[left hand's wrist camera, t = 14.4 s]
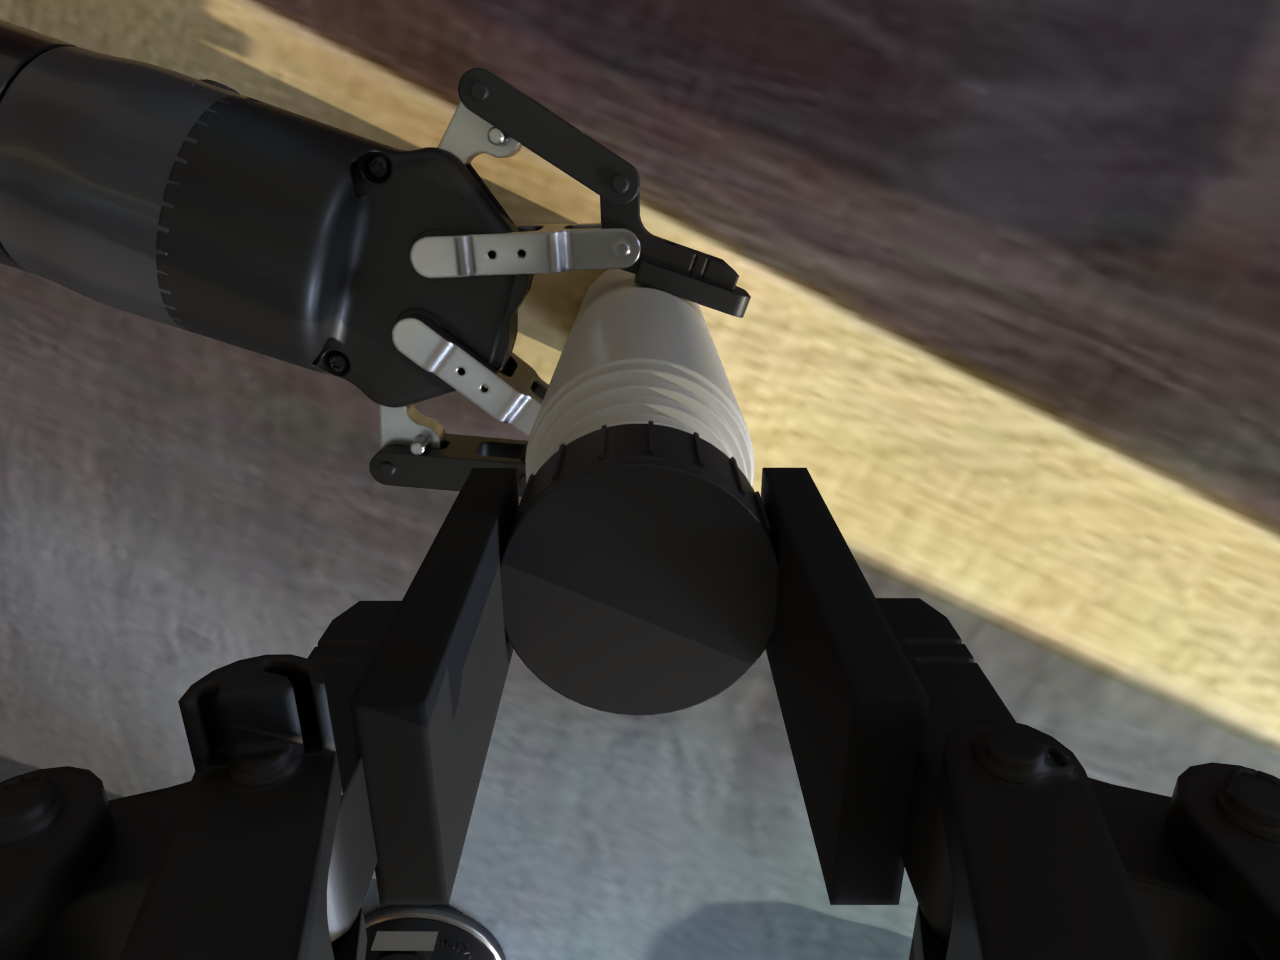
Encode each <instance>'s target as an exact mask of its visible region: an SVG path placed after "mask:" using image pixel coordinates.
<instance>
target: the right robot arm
mask: <svg viewBox="0 0 1280 960" xmlns="http://www.w3.org/2000/svg"><path fill="white" fill-rule="evenodd" d="M458 92H459V97H460V100H461V101H460V103H459V105H458V107H457V109H456V111H455V113H454V115H453V117H452V119H451V121H450V124H449V126H448V128H447V130H446V132H445V134H444V136H443V138H442V140H441V142H440V144H439V146H438V148H433V147H429V148H423V149H418V150H413V151H403V150H399V149H396V148H392V147H389V146H386V145H383V144H381V143H378V142H375V141H372V140H369V139H366V138H363V137H361V136H358V135H355V134H352V133H349V132H346V131H343V130H341V129H338V128H335V127H332V126H329V125H326V124H323V123H321V122H318V121H315V120H312V119H309V118H306V117H303V116H301V115H298V114H295V113H292V112H289V111H286V110H283V109H281V108H278V107H275V106H272V105H269V104H266V103H263V102H261V101H258V100H255V99H252V98H249V97H246V96H243V95H240V94H239V93H238V92H237V91H235V90H233V89H231V88H229V87H227V86H225V85H223V84H220V83H217V82H215V81H211V80H207V79H206V80H198V79H195V78H192V77H189V76H186V75H183V74H180V73H178V72H175V71H172V70H169V69H165V68H162V67H159V66H156V65H152V64H148V63H144V62H140V61H135V60H130V59H125V58H120V57H114V56H110V55H105V54H101V53H97V52H93V51H90V50H87V49H83V48H80V47H76V46H74V45H72V44H69V43H66V42H63V41H60V40H57V39H54V38H51V37H49V36H46V35H43V34H40V33H37V32H34V31H31V30H29V29H26V28H23V27H20V26H17V25H14V24H11V23H9V22H6V21H3V20H0V263H2V264H5V265H8V266H11V267H14V268H18V269H21V270H24V271H27V272H30V273H33V274H36V275H38V276H41V277H44V278H47V279H49V280H52V281H54V282H56V283H59V284H61V285H63V286H65V287H67V288H69V289H71V290H73V291H76V292H78V293H80V294H82V295H84V296H87V297H89V298H91V299H94V300H96V301H98V302H101V303H103V304H106V305H109V306H112V307H115V308H117V309H120V310H123V311H127V312H130V313H133V314H136V315H139V316H143V317H146V318H149V319H152V320H155V321H158V322H162V323H165V324H168V325H171V326H174V327H177V328H181V329H184V330H187V331H190V332H193V333H196V334H200V335H203V336H206V337H210V338H213V339H216V340H219V341H222V342H225V343H228V344H231V345H235V346H238V347H241V348H244V349H247V350H250V351H254V352H257V353H260V354H263V355H266V356H270V357H273V358H276V359H279V360H282V361H285V362H289V363H292V364H295V365H298V366H301V367H304V368H308V369H311V370H314V371H318V372H322V373H326V374H330V375H334V376H338V377H341V378H343V379H346V380H347V381H349V382H351V383H352V384H354V385H355V386H357V387H358V388H359V389H360V390H361V391H362V392H363V393H364V394H365V395H367V396H368V397H369V398H370V399H371V400H373V401H374V402H376V403H378V404H379V415H380V450H379V451H378V453H377V454H376V455H375V456H374V457H373V458H372V460H371V462H370V472H371V474H372V476H373V477H374V479H375V480H377V481H378V482H380V483H382V484H385V485H393V486H404V487H416V488H428V489H439V490H451V491H461V489H462V487H463V485H464V483H465V481H466V480H467V478H468V476H469V474H470V472H471V470H472V468H516V469H517V486H518V496H521V497H522V496H523V493H524V490H525V488H526V470H525V458H526V450H527V444H528V441H523V440H512V439H501V438H489V437H478V436H467V435H455V434H445V430H444V428H443V426H442V425H441V424H440V423H439V422H438V421H437V420H435V419H432V418H428V417H425V416H423V415H421V414H420V413H419V412H418V411H417V410H416V408H415V407H414V403H417V402H420V401H424V400H427V399H430V398H433V397H436V396H440V395H443V394H446V393H449V392H453V391H456V390H457V391H458V392H460V393H461V394H462V395H464V396H465V397H467V398H468V399H469V400H471V401H472V402H473V403H475V404H476V405H477V406H479V407H480V408H481V409H483V410H484V411H485V412H487V413H488V414H489V415H491V416H492V417H494V418H495V419H497V420H498V421H500V422H503V423H509V424H511V425H513V426H514V427H516V428H517V429H518V430H520V431H521V432H522V433H524V434H525V435H526V436H528V437H529V436H530V432H531V430H532V427H533V425H534V422H535V420H536V417H537V415H538V412H539V410H540V407H541V404H542V402H543V399H544V397H545V394H546V392H547V389H548V387H549V385H548V384H547V383H546V382H544V381H543V380H542V379H541V378H540V377H539V376H538V375H537V373H536V371H535V370H534V369H533V368H532V367H531V366H529V365H528V364H527V363H526V362H524V361H523V360H522V359H520V358H519V357H518V356H516V355H515V354H514V353H513V352H512V350H513V347H514V343H515V340H516V336H517V323H518V308H519V306H520V305H521V303H522V301H523V300H524V298H525V296H526V295H527V293H528V291H529V290H530V287H531V283H532V280H533V276H534V274H539V273H558V272H564V271H570V270H596V269H621V270H624V271H627V272H630V273H633V274H635V282H636V283H639V284H642V285H645V286H648V287H651V288H654V289H656V290H660V291H663V292H666V293H669V294H671V295H674V296H677V297H680V298H683V299H686V300H689V301H692V302H695V303H697V304H700V305H703V306H706V307H709V308H712V309H715V310H718V311H721V312H724V313H727V314H730V315H733V316H736V317H741V318H743V316H744V313H745V311H746V308H747V306H748V303H749V300H750V298H751V297H750V295H749V294H748V293H747V291H746V290H744V289H742V288H740V287H737V286H736V283H737V280H738V278H739V275H738V274H737V273H736V272H735V270H734V269H732V268H731V267H730V266H729V265H728V264H727V263H726V262H725V261H724V260H722V259H720V258H717V257H714V256H711V255H708V254H705V253H702V252H700V251H697V250H694V249H691V248H688V247H685V246H682V245H680V244H677V243H674V242H671V241H668V240H665V239H662V238H659V237H657V236H654V235H652V234H651V233H649V232H648V231H647V230H646V229H645V227H644V226H643V224H642V222H641V218H640V202H639V188H640V177H639V174H638V172H637V170H636V169H635V168H634V167H633V166H632V165H631V164H629V163H628V162H626V161H625V160H623V159H622V158H620V157H619V156H617V155H616V154H614V153H613V152H611V151H610V150H608V149H607V148H605V147H604V146H602V145H601V144H599V143H598V142H596V141H595V140H593V139H592V138H590V137H589V136H587V135H586V134H584V133H583V132H581V131H580V130H578V129H577V128H575V127H574V126H572V125H571V124H569V123H568V122H566V121H565V120H563V119H562V118H560V117H559V116H557V115H556V114H554V113H553V112H551V111H550V110H548V109H547V108H545V107H544V106H542V105H541V104H539V103H538V102H536V101H535V100H533V99H532V98H530V97H529V96H527V95H526V94H524V93H523V92H521V91H520V90H518V89H517V88H515V87H514V86H512V85H511V84H509V83H508V82H506V81H505V80H503V79H502V78H500V77H498V76H496V75H495V74H493V73H491V72H489V71H487V70H485V69H482V68H473V69H470V70H468V71H467V72H466V73H465V74H464V75H463V76H462V77H461V79H460V82H459V87H458ZM522 145H523V146H525V147H526V148H528V149H529V150H531V151H533V152H534V153H536V154H537V155H539V156H540V157H542V158H543V159H545V160H546V161H548V162H549V163H551V164H552V165H554V166H556V167H557V168H559V169H560V170H562V171H563V172H565V173H566V174H568V175H569V176H571V177H572V178H574V179H576V180H577V181H579V182H580V183H582V184H583V185H585V186H586V187H588V188H589V189H591V190H592V191H594V192H595V193H597V194H599V195H600V205H601V223H591V224H564V223H560V224H529V225H515V224H514V223H513V221H512V220H511V219H510V217H509V216H508V215H507V213H506V212H505V210H504V209H503V208H502V206H501V205H500V204H499V202H498V201H497V200H496V198H495V197H494V196H493V194H492V193H491V191H490V190H489V189H488V187H487V186H486V185H485V183H484V182H483V181H482V179H481V178H480V176H479V175H478V174H477V172H476V171H475V170H474V168H473V167H472V166H471V164H470V163H471V161H472V160H473V159H474V157H476V156H477V155H479V154H482V153H487V154H490V155H492V156H494V157H498V158H508V157H512V156H514V155H515V154H517V153H518V152H519V151H520V149H521V147H522ZM483 385H486V386H487V387H488V388H485V387H484V386H483ZM364 921H365V927H366V934H367V946H366V956H365V960H506V959H505V955H504V952H503V950H502V948H501V946H500V944H499V943H498V941H497V940H496V938H495V937H494V936H493V935H492V934H491V933H490V932H489V931H488V930H487V929H486V928H485V927H484V926H483V925H481V924H480V923H478V922H477V921H475V920H474V919H472V918H470V917H468V916H467V915H464V914H462V913H460V912H457V911H455V910H452V909H448V908H445V907H441V906H436V905H396V906H391V907H387V908H384V909H381V910H378V911H376V912H373V913H371V914H369V915H368V916H366V917H364Z"/></svg>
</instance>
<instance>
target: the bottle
mask: <svg viewBox="0 0 1280 960" xmlns="http://www.w3.org/2000/svg"><path fill="white" fill-rule="evenodd" d="M648 421H653V422H654V424H655V425H663V426H669V427H673V428H676V429H680V430H683V431H685V432H688V433H691V434H693V433H694V432H696V433H698V434H699V437H700V438H702V439H704V440H705V441H707V442H709V443H711V444H712V445H714V446H715V447H716V448H718V449H719V450H721V451H722V452H723V453H725V454H726V455H727V456H728V457H729V458H731V457H732V456H733V457H734V458H735V459H736V462H737V465H738V467H739V469H740V470H741V471H742V472H743V474H744V475H745V476H746V478H747V479H748V481H749V483H750V484H751V486H752V487H753V475H754V452H753V447H752V442H751V438H750V435H749V432H748V429H747V426H746V423H745V421H744V418H743V416H742V413H741V411H740V408H739V406H738V403H737V401H736V398H735V395H734V393H733V390H732V388H731V385H730V383H729V380H728V378H727V375H726V373H725V370H724V367H723V365H722V362H721V360H720V357H719V355H718V352H717V350H716V347H715V345H714V342H713V340H712V337H711V334H710V332H709V329H708V327H707V324H706V322H705V319H704V317H703V314H702V312H701V309H700V307H699V304H697V303H695V302H692V301H689V300H686V299H683V298H680V297H677V296H674V295H671V294H669V293H666V292H663V291H660V290H656V289H654V288H651V287H648V286H645V285H642V284H639V283H636V282H635V274H633V273H630V272H627V271H624V270H621V269H608V270H607V271H605V272H604V273H603V274H601V275H600V276H599V277H598V278H597V279H596V280H595V281H594V282H593V283H592V285H591V286H590V287H589V289H588V291H587V292H586V294H585V296H584V299H583V301H582V304H581V306H580V309H579V311H578V314H577V316H576V319H575V321H574V324H573V326H572V329H571V331H570V334H569V336H568V339H567V341H566V344H565V346H564V349H563V352H562V354H561V357H560V359H559V362H558V364H557V367H556V369H555V372H554V374H553V377H552V379H551V382H550V384H549V387H548V389H547V392H546V394H545V397H544V399H543V402H542V404H541V407H540V410H539V412H538V415H537V417H536V420H535V422H534V425H533V427H532V430H531V432H530V436H529V440H528V444H527V450H526V458H525V470H526V485H527V482H528V479H529V476H530V475H531V474H533V475H535V474H536V473H537V471H538V470H539V469H540V467H541V466H542V465H543V464H544V463H545V462H546V461H547V460H548V459H549V458H550V457H551V456H552V455H554V454H555V453H556V452H557V451H559V447H560V445H561V444H563V443H564V444H565V445H567V444H569V443H570V442H572V441H574V440H575V439H577V438H579V437H581V436H584V435H586V434H588V433H591V432H593V431H596V430H600V429H601V426H603V425H607V427H610V426H616V425H621V424H642V423H645V424H648Z"/></svg>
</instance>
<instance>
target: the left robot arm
mask: <svg viewBox="0 0 1280 960" xmlns="http://www.w3.org/2000/svg"><path fill="white" fill-rule="evenodd" d="M761 500H762V502H763V505H764V508H765V511H766V514H767V516H768V519H769V522H770V525H771V528H772V531H773V532H771V533H770V536H771V539H772V542H773V545H774V547H775V550H776V553H777V557H778V561H779V574H778V588H777V603H776V617H775V629H774V633H773V635H772V637H771V639H770V641H769V643H768V645H767V647H766V652H767V656H768V660H769V664H770V668H771V672H772V676H773V680H774V683H775V687H776V691H777V695H778V699H779V703H780V707H781V711H782V715H783V719H784V723H785V727H786V731H787V735H788V739H789V743H790V747H791V750H792V754H793V758H794V762H795V766H796V770H797V774H798V778H799V782H800V786H801V790H802V794H803V798H804V802H805V806H806V810H807V813H808V817H809V821H810V825H811V829H812V833H813V837H814V841H815V845H816V849H817V853H818V857H819V861H820V865H821V869H822V873H823V876H824V880H825V884H826V888H827V892H828V896H829V900H830V904H831V905H899V899H900V893H901V886H902V880H903V873H904V867H905V868H906V871H907V874H908V876H909V879H910V882H911V885H912V887H913V890H914V893H915V895H916V898H917V901H918V909H917V915H916V921H915V927H914V933H913V939H912V945H911V951H910V957H909V960H1280V779H1278V778H1277V777H1275V776H1272V775H1270V774H1267V773H1264V772H1261V771H1256V770H1255V769H1250V768H1246V767H1243V766H1239V765H1229V764H1220V763H1207V764H1202V765H1196V766H1191V767H1189V768H1188V769H1187V770H1186V771H1185V772H1183V773H1182V774H1181V775H1180V776H1179V777H1178V779H1177V782H1176V786H1175V789H1174V792H1173V796H1172V797H1168V796H1163V795H1159V794H1154V793H1149V792H1145V791H1140V790H1136V789H1131V788H1126V787H1122V786H1117V785H1112V784H1109V783H1105V782H1102V781H1098V780H1095V779H1091V778H1088V777H1087V774H1086V772H1085V770H1084V768H1083V767H1082V765H1081V764H1080V762H1079V761H1078V760H1077V758H1076V757H1075V755H1074V754H1073V752H1071V751H1070V750H1069V749H1068V748H1066V747H1065V746H1064V745H1062V744H1061V743H1060V742H1058V741H1057V740H1056V739H1054V738H1053V737H1052V736H1049V735H1047V734H1045V733H1043V732H1041V731H1039V730H1036V729H1034V728H1032V727H1030V726H1028V725H1024V724H1020V723H1016V721H1015V720H1014V718H1013V717H1012V715H1011V714H1010V712H1009V711H1008V709H1007V708H1006V706H1005V705H1004V703H1003V702H1002V700H1001V699H1000V697H999V696H998V694H997V693H996V691H995V690H994V688H993V686H992V685H991V683H990V682H989V680H988V679H987V677H986V676H985V674H984V673H983V671H982V670H981V668H980V667H979V665H978V664H977V663H974V658H973V656H972V655H971V653H970V652H969V650H968V649H967V647H966V646H965V644H962V642H961V638H960V637H959V635H958V634H957V632H956V631H955V629H954V628H953V626H952V625H951V623H950V622H949V620H948V619H947V617H945V616H944V615H942V614H941V613H940V612H938V611H937V610H935V609H934V608H932V607H931V606H930V605H928V604H927V603H925V602H924V601H922V600H921V599H920V598H875V596H874V594H873V592H872V591H871V589H870V587H869V585H868V583H867V581H866V579H865V577H864V575H863V574H862V572H861V570H860V568H859V566H858V564H857V562H856V560H855V559H854V557H853V555H852V553H851V551H850V549H849V547H848V545H847V543H846V542H845V540H844V538H843V536H842V534H841V532H840V530H839V528H838V527H837V525H836V523H835V521H834V519H833V517H832V515H831V513H830V511H829V510H828V508H827V506H826V504H825V502H824V500H823V498H822V496H821V495H820V493H819V491H818V489H817V487H816V485H815V483H814V481H813V479H812V478H811V476H810V474H809V472H808V470H807V468H763V471H762V488H761ZM518 508H519V503H518V486H517V469H516V468H472V470H471V472H470V474H469V476H468V478H467V480H466V481H465V483H464V485H463V487H462V489H461V491H460V493H459V495H458V497H457V498H456V500H455V502H454V504H453V506H452V508H451V510H450V512H449V513H448V515H447V517H446V519H445V521H444V523H443V525H442V527H441V528H440V530H439V532H438V534H437V536H436V538H435V540H434V542H433V544H432V545H431V547H430V549H429V551H428V553H427V555H426V557H425V559H424V560H423V562H422V564H421V566H420V568H419V570H418V572H417V574H416V576H415V577H414V579H413V581H412V583H411V585H410V587H409V589H408V591H407V592H406V594H405V596H404V598H403V600H402V601H359V602H358V603H356V604H355V605H354V606H352V607H351V608H349V609H348V610H346V611H345V612H344V613H342V614H341V615H339V616H338V617H336V618H335V619H334V620H332V622H331V624H330V625H329V627H328V628H327V630H326V631H325V633H324V634H323V636H322V637H321V639H320V640H319V642H318V647H315V648H314V649H313V651H312V652H311V654H310V655H309V657H308V658H307V659H306V658H302V657H299V656H295V655H263V656H258V657H253V658H248V659H244V660H239V661H236V662H234V663H231V664H229V665H226V666H224V667H221V668H219V669H217V670H214V671H212V672H211V673H209V674H208V675H206V676H205V677H203V678H202V679H200V680H199V681H197V682H196V683H194V684H193V685H191V686H190V688H189V689H188V690H187V691H186V693H185V694H184V695H183V696H182V698H181V699H180V700H179V701H178V702H179V706H180V710H181V714H182V718H183V722H184V726H185V730H186V734H187V738H188V742H189V746H190V750H191V754H192V758H193V763H194V767H195V773H194V776H193V778H192V781H190V782H186V783H183V784H179V785H176V786H172V787H169V788H165V789H160V790H155V791H151V792H146V793H142V794H137V795H133V796H128V797H123V798H119V799H114V800H110V801H108V800H107V796H106V793H105V790H104V786H103V783H102V781H101V780H100V779H99V778H98V777H97V776H96V775H95V774H93V773H92V772H91V771H90V770H86V769H80V768H74V767H69V766H67V767H57V768H48V769H39V770H36V771H33V772H29V773H25V774H23V775H18V776H16V777H13V778H10V779H7V780H5V781H3V782H1V783H0V960H365V956H366V946H367V934H366V927H365V921H364V915H363V909H362V902H363V900H364V897H365V894H366V892H367V889H368V886H369V883H370V881H371V878H372V875H373V873H374V870H375V873H376V879H377V886H378V892H379V899H380V905H448V904H449V900H450V896H451V893H452V889H453V885H454V881H455V877H456V873H457V869H458V865H459V861H460V857H461V853H462V849H463V845H464V841H465V837H466V833H467V830H468V826H469V822H470V818H471V814H472V810H473V806H474V802H475V798H476V794H477V790H478V786H479V782H480V778H481V774H482V771H483V767H484V763H485V759H486V755H487V751H488V747H489V743H490V739H491V735H492V731H493V727H494V723H495V719H496V715H497V711H498V708H499V704H500V700H501V696H502V692H503V688H504V684H505V680H506V676H507V672H508V668H509V664H510V660H511V656H512V652H513V649H514V648H513V646H512V644H511V643H510V641H509V639H508V637H507V634H506V632H505V629H504V616H503V602H502V587H501V573H500V560H501V557H502V554H503V551H504V548H505V545H506V542H507V540H508V537H509V534H510V531H511V528H512V525H513V522H514V519H515V516H516V514H517V511H518Z"/></svg>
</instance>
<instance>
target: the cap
mask: <svg viewBox="0 0 1280 960" xmlns="http://www.w3.org/2000/svg"><path fill="white" fill-rule="evenodd" d="M771 532H773V531H772V528H771V525H770V522H769V519H768V516H767V514H766V511H765V508H764V505H763V502H762V500H761V497H760V494H759V492H758V491H757V492H754V490H753V488H752V486H751V484H750V483H749V481H748V479H747V478H746V476H745V475H744V474H743V472H742V471H741V470H740V469H739V467H738V465H737V462H736V459H735V458H734V457H733V456H732V457H731V458H729V457H728V456H727V455H726V454H725V453H723V452H722V451H721V450H719V449H718V448H716V447H715V446H714V445H712V444H711V443H709V442H707V441H705V440H704V439H702V438H700V437H699V434H698V433H696V432H694V433H693V434H691V433H688V432H685V431H683V430H680V429H676V428H673V427H669V426H663V425H655V424H654V422H653V421H648V424H645V423H642V424H621V425H616V426H610V427H607V425H603V426H601V429H600V430H596V431H593V432H591V433H588V434H586V435H584V436H581V437H579V438H577V439H575V440H574V441H572V442H570V443H569V444H567V445H565V444H564V443H563V444H561V445H560V447H559V451H557V452H556V453H555V454H554V455H552V456H551V457H550V458H549V459H548V460H547V461H546V462H545V463H544V464H543V465H542V466H541V467H540V469H539V470H538V471H537V473H536V474H535V475H533V474H531V475H530V476H529V479H528V482H527V485H526V488H525V490H524V493H523V496H522V499H521V502H520V505H519V508H518V511H517V514H516V516H515V519H514V522H513V525H512V528H511V531H510V534H509V537H508V540H507V542H506V545H505V548H504V551H503V554H502V557H501V560H500V573H501V587H502V602H503V616H504V629H505V632H506V634H507V637H508V639H509V641H510V643H511V644H512V646H513V648H514V650H515V651H516V653H517V655H518V656H519V657H520V658H521V660H522V661H523V662H524V664H525V665H526V666H527V667H528V668H529V669H530V670H531V671H532V672H533V673H534V674H535V675H536V676H537V677H538V678H539V679H540V680H541V681H542V682H544V683H545V684H546V685H548V686H549V687H550V688H552V689H553V690H555V691H556V692H558V693H560V694H561V695H563V696H565V697H566V698H568V699H571V700H573V701H575V702H577V703H580V704H582V705H584V706H588V707H591V708H594V709H597V710H601V711H606V712H611V713H616V714H626V715H655V714H662V713H670V712H674V711H678V710H682V709H686V708H689V707H691V706H694V705H697V704H700V703H702V702H704V701H706V700H708V699H710V698H712V697H714V696H716V695H718V694H720V693H721V692H723V691H724V690H726V689H727V688H729V687H730V686H732V685H733V684H734V683H735V682H737V681H738V680H739V679H740V678H741V677H742V676H744V675H745V674H746V673H747V672H748V670H749V669H750V668H751V667H752V666H753V665H754V664H755V663H756V661H757V660H758V659H759V657H760V656H761V654H762V653H763V651H764V650H765V649H766V647H767V645H768V643H769V641H770V639H771V637H772V635H773V633H774V629H775V617H776V603H777V588H778V574H779V561H778V557H777V553H776V550H775V547H774V545H773V542H772V539H771V536H770V533H771Z"/></svg>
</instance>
